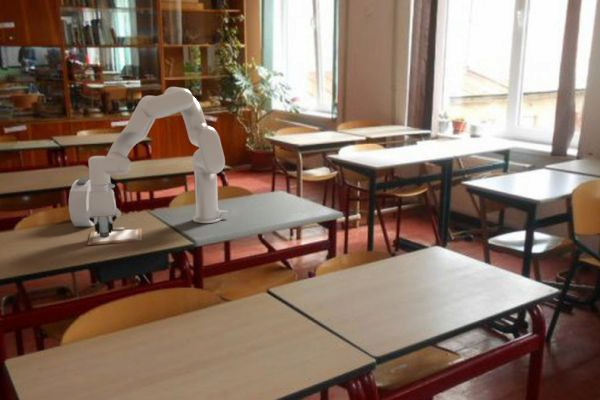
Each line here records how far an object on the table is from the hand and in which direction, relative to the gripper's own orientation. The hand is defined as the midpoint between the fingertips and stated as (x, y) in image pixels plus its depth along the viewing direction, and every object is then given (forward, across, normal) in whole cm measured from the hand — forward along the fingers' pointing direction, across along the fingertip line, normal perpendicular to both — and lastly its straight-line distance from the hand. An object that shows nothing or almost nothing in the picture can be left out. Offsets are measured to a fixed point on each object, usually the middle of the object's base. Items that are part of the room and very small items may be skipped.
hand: (104, 232), depth 227 cm
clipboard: (+2, -4, 0) cm, 5 cm away
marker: (+2, 0, 0) cm, 2 cm away
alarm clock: (+2, +8, -25) cm, 26 cm away
